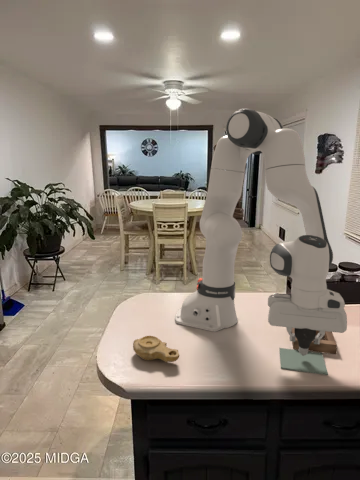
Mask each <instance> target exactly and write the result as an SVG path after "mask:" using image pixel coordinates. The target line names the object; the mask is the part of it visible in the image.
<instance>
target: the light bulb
mask: <svg viewBox="0 0 360 480" xmlns="http://www.w3.org/2000/svg"><path fill="white" fill-rule="evenodd" d="M294 332H295V336H296V338H297V340H298V344H299V353H300V354H301V355H303V356H304V355H307V354H308V348H309V346H310V344H311V342H312V341H313V340H314V339H315V336H316V330H311V329H308V328H303V329H299V328H295V330H294Z"/></svg>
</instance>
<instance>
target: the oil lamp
mask: <svg viewBox="0 0 360 480" xmlns="http://www.w3.org/2000/svg"><path fill="white" fill-rule="evenodd" d="M132 345H133V346H132V349H133V352H134V353H135V354H136V355H137V356H138V357H140V358H141V359H142V358H143V359H142V360H144V359H145V361H153V360H158V359H159V360H161V361H163V362H165V363H174V362H176V361H178V360H179V359H180V352H179V349H175V348H170V347H167V342H166V341H165V342H164V341H162V340H161V339H160V338H158V337H157V336H155V335H145V336H143V337H140V338H137V339H135V340H133V342H132Z"/></svg>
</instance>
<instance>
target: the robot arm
mask: <svg viewBox="0 0 360 480" xmlns="http://www.w3.org/2000/svg"><path fill="white" fill-rule="evenodd" d="M225 127H226V128H225V133H226V135H224V136H221V137H220V138H219V139H218V141H217V142H216V146H215V147H214V152H213V156H212V160H211V166H210V172H209V180H208V185H207V186H208V187H207V191H206V192H207V193H206V196H205V197H206V198H205V201H204V205H203V208H202V212H201V217H200V219H199V229H200V232H201V234H202V235H203V236H204V239H205V249H204V250H205V251H204V255H203V259H202V277H199V278H198V280H197V283H196V290H195V291H194V292H192V293H191V294H189V295H187V296H186V297H185V298H184V300H183V301H182V305H181V307H179V309H178V310H177V311H176V312H175V316H174V322H175V324H178V325H181V326H182V325H183V326H187V327H192V328H196V329H201V330H206V331H210V332H218V331H220V330H223V329H227V328H230V327H233V326H234V325H236V324H237V323H238V320H239V319H238V317H237V311H236V305H235V299H236V282H235V267H236V266H235V264H236V256H237V252H238V248H239V244H240V243H241V241H242V239H243V229H242V227H241V225H240V223H239V222H238V220H237V219H236V218H235V217H234V213H235V209H236V208H237V207H236V206H237V204H238V202H239V200H240V198H241V197H242V192H243V184H244V179H245V171H246V165H247V160H248V158H249V157H250V155H252V154H253V155H254V156H257V155H260V154H262V156H263V159H264V176H265V184H266V187H267V190H268V191H269V192H270V193H271V194H272V196H274V197H276V199H279V200H280V201H283V202H286V203H289V204H291V205H293V206H294V207H296V208H297V209H298V211H300V214H301V217H302V222H303V227H304V233H305V234H304V235H300V236H298V237H297V238H296V239H294V240H291V241H285V242H280V243H276V244H275V245H274V246H273V247H272V248H271V250H270V251H271V252H270V254H269V264H270V265H269V266H270V267H271V269H272V270H273V271H274V272H275V273H276V274H278V275H280V276H283V277H290V278H291V280H292V281H291V289H290V293H277V292H275V293H273V294H270V295H269V296H268V297H267V306H268V307H269V308H268V315H267V317H268V318H267V322H268V324H269V325H270V326H272V327H282V328H285V329H286V332H287V333H288V334H287V335H289V342H292V341H293V342H295V339H296V336H295V333H292V332H291V331H292V328H299V329H303V328H308V329H311V330H318V331H319V333H318V334H317V336H315V339H314V340H313V343H314V344H320V340H322V339H323V338H324V337H323V336H324V335H325V331H328V332H332V333H337V334H338V333H339V334H343V333H345V332H346V331H347V330H348V329H347V328H348V314H347V312H346V310H345V305H346V303H345V300H344V298H343V297H342V295H341V294H340V293H339V292H337V291H333V290H331V289H329V288H328V285H327V284H328V283H327V276H329V275H328V274H329V271H330V270H329V268H330V267H331V265H332V264H333V259H334V253H333V249H332V246H331V244H330V241H329V239H328V233H327V230H326V225H325V224H326V223H325V220H324V215H323V210H322V207H321V205H322V204H321V202H320V201H321V200H320V197H319V194H318V191H317V189H316V188H315V187H314V186H313V185H311V182H310V180H309V177H308V175H307V170H306V159H305V151H304V147H303V143H302V138H301V136H300V134H299V132H298V131H297V130H294V129H293V128H287V127H285V128H284V127H283V125H282V123H281V122H280V121H279V120H278V119H277V118H275V117H272V116H271V115H269V114H268V113H265V112H262V111H261V112H260V111H257V110H255V109H254V108H253V109H252V108H240V109H237V110H235V111H234V112H233V113H232V114H231V115H230V116H229V118H228V119H227V122H226V126H225Z"/></svg>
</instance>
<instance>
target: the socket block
mask: <svg viewBox="0 0 360 480" xmlns="http://www.w3.org/2000/svg"><path fill="white" fill-rule="evenodd" d="M294 330H295V328H292V331H291V332H292V333H295V332H294ZM318 333H319V331H318V330H316V336H317V334H318ZM333 333H334V332H328V331H325V335H324V336H323V337H322V338H323V339H320V344H314V343H313V341H312V342H311V344H310V346H309V348H308V351H309V352H318V353H322V354H323V353H325V354H331V355H337V350H338V344H337V341H336V339H335V336H334V334H333ZM291 344H292V349H293V350H299V344H298V340H297V338H296V339H295V342H293V341H291Z"/></svg>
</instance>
